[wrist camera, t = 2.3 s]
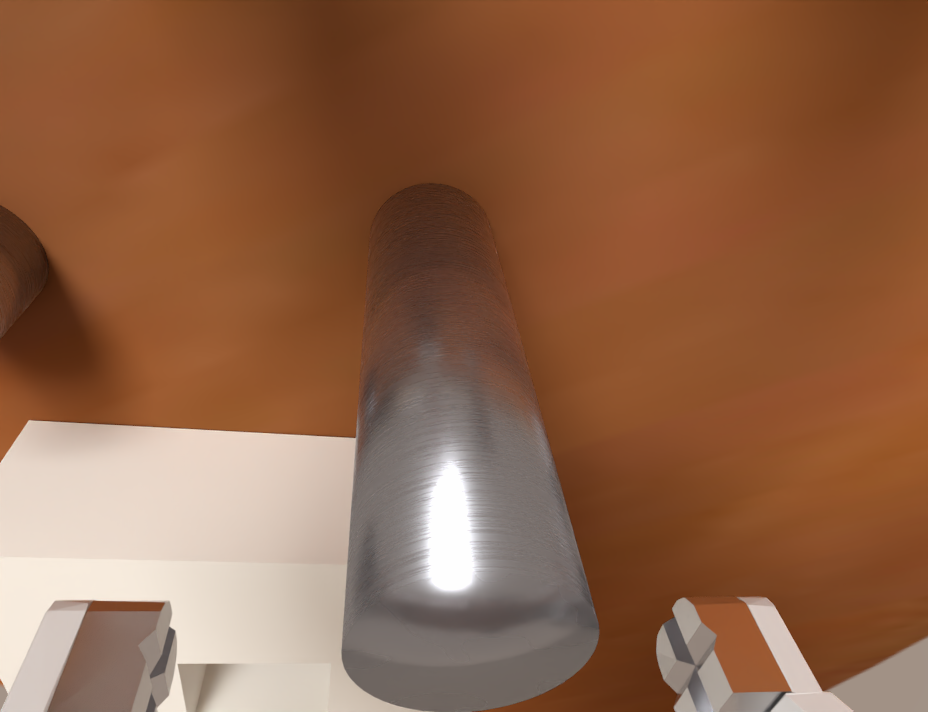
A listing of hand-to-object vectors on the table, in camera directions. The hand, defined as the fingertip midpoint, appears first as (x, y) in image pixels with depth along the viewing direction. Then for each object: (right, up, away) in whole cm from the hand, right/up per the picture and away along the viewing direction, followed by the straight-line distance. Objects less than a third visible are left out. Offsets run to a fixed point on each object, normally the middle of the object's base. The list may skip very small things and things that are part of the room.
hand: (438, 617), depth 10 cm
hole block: (-8, -6, +20) cm, 23 cm away
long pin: (-1, +8, +11) cm, 13 cm away
